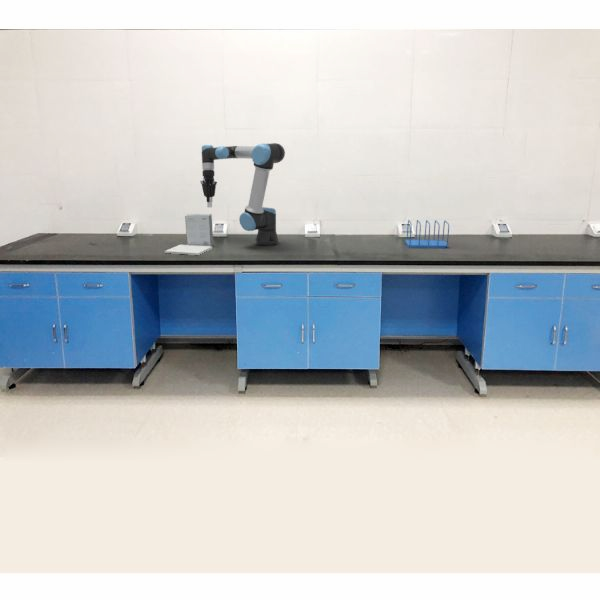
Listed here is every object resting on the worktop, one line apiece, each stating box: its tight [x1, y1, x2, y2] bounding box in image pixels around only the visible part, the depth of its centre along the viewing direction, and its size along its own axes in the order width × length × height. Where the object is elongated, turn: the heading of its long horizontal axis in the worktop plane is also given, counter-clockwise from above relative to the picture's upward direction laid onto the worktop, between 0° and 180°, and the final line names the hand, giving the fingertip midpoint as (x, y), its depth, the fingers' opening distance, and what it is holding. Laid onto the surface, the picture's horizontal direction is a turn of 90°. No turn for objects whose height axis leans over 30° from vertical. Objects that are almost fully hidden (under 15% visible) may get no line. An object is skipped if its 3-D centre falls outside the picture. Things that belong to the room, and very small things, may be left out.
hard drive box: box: [184, 213, 214, 247], centre depth 369 cm, size 16×8×20 cm, turn 85°
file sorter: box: [405, 219, 450, 249], centre depth 371 cm, size 25×17×15 cm
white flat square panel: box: [164, 244, 213, 256], centre depth 358 cm, size 22×20×2 cm
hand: (209, 207), depth 379 cm, fingers closed
